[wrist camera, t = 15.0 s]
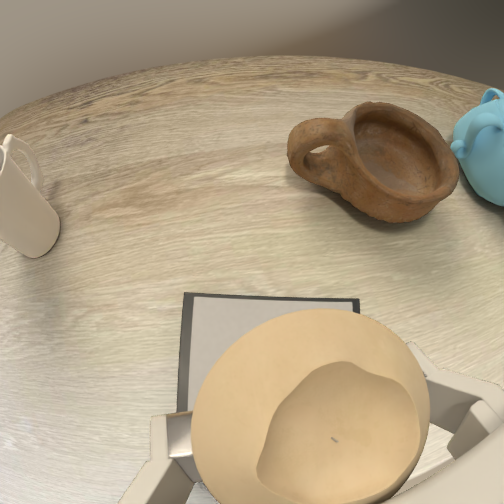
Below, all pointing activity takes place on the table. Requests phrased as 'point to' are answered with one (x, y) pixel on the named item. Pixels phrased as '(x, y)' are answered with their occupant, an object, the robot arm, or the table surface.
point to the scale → (229, 330)
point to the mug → (24, 204)
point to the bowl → (377, 160)
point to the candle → (311, 413)
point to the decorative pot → (483, 146)
